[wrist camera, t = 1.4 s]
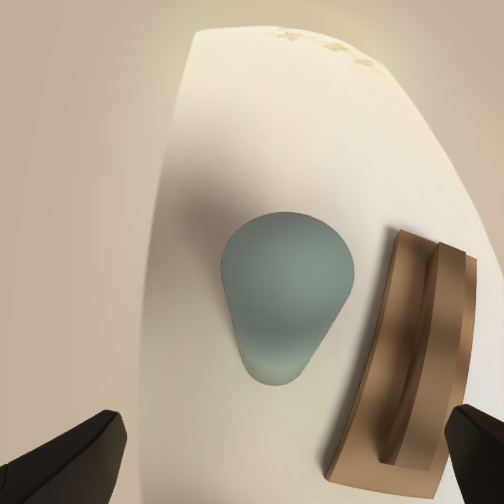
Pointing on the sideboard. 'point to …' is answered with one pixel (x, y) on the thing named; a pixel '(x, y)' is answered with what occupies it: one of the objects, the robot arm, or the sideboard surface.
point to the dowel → (284, 291)
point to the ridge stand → (411, 373)
